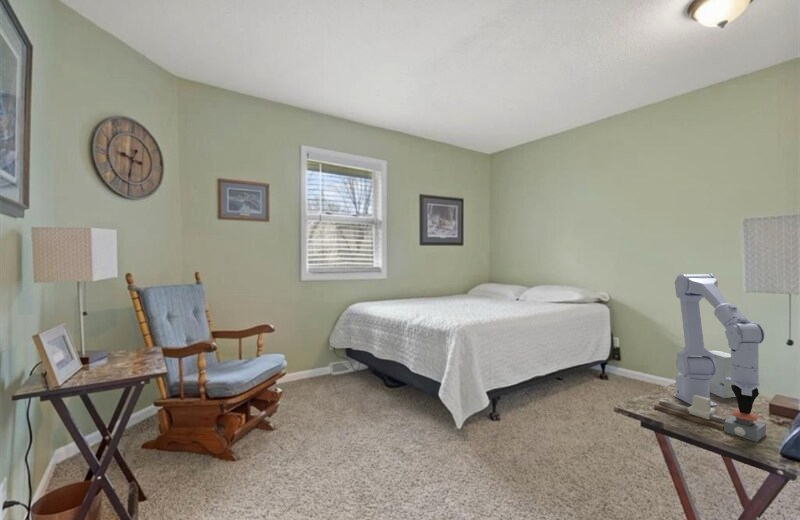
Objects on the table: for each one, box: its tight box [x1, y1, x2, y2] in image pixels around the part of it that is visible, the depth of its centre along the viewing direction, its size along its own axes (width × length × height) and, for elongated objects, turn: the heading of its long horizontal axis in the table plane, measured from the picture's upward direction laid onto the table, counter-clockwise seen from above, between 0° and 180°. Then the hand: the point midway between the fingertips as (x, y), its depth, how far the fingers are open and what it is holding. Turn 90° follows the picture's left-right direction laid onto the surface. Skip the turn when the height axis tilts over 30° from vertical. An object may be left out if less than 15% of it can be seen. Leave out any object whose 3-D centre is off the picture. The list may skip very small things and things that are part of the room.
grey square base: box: [723, 414, 767, 443], centre depth 105 cm, size 7×7×3 cm
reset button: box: [732, 409, 758, 427], centre depth 105 cm, size 5×5×3 cm
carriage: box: [688, 395, 717, 419], centre depth 114 cm, size 5×6×6 cm
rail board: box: [653, 399, 727, 431], centre depth 116 cm, size 18×6×2 cm, turn 31°
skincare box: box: [708, 350, 736, 399], centre depth 133 cm, size 8×6×15 cm
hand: (744, 412), depth 105 cm, fingers closed
